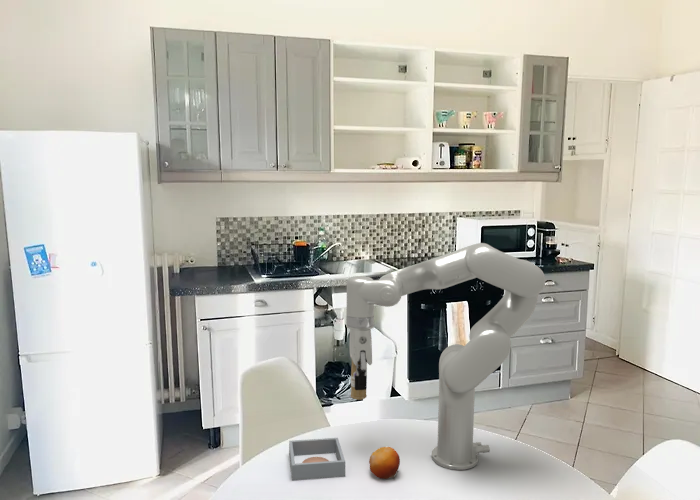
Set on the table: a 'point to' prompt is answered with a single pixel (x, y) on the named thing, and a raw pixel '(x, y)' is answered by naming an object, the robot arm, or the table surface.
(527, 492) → the table surface
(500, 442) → the table surface
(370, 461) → the fruit
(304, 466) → the grey square tray
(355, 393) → the sprinkles bottle
